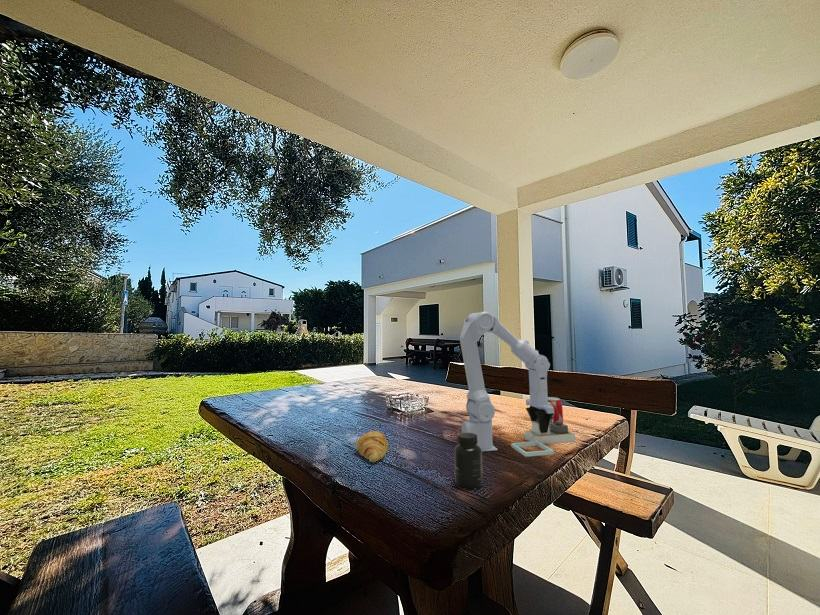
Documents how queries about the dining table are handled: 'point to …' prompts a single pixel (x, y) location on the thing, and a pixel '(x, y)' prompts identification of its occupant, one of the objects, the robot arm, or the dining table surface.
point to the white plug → (537, 429)
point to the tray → (535, 453)
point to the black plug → (559, 428)
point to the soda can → (556, 410)
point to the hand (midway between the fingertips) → (540, 430)
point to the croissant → (372, 446)
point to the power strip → (550, 437)
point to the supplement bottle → (468, 462)
